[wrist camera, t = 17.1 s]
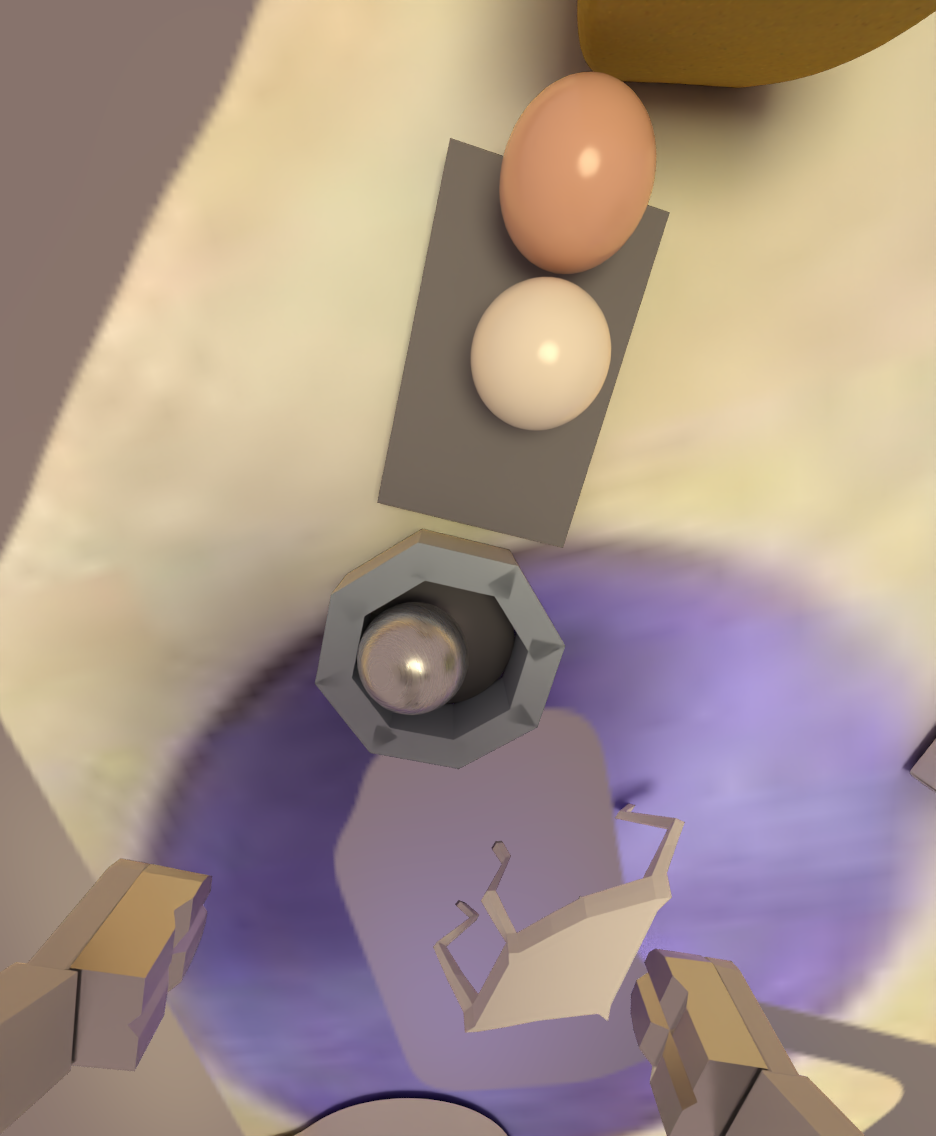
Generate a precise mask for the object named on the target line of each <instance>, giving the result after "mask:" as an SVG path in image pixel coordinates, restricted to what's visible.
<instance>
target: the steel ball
mask: <svg viewBox="0 0 936 1136" xmlns="http://www.w3.org/2000/svg"><path fill="white" fill-rule="evenodd" d="M468 663H469V651H468V645H467V641H466V638H465V635H464V633H463V631H462V629H461V628H460V626H459V625H458V623H457V622H456V621H455V620H454V619H453V618H452V617H451V616H450V615H449V614H448V613H446V612H445V611H443V610H442V609H440V608H438V607H436V606H433V605H431V604H427V603H422V602H407V603H402V604H398V605H395V606H393V607H391V608H388V609H386V610H385V611H383V612H382V613H380V614H379V615H378V616H377V617H376V618H375V619H374V620H373V621H372V622H371V623H370V624H369V625H368V627H367V629H366V630H365V632H364V634H363V636H362V638H361V641H360V644H359V648H358V654H357V665H358V672H359V676H360V679H361V682H362V684H363V686H364V688H365V689H366V691H367V692H368V694H369V695H370V696H371V697H372V698H373V699H374V700H375V701H376V702H377V703H378V704H379V705H381V706H382V707H384V708H386V709H388V710H390V711H392V712H395V713H399V714H404V715H418V714H425V713H428V712H431V711H434V710H436V709H438V708H440V707H441V706H443V705H444V704H446V703H447V702H448V701H449V700H450V699H451V698H452V697H453V696H454V695H455V694H456V693H457V691H458V690H459V689H460V687H461V685H462V683H463V681H464V679H465V676H466V673H467V669H468Z"/></svg>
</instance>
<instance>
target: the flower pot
mask: <svg viewBox="0 0 936 1136" xmlns="http://www.w3.org/2000/svg"><path fill="white" fill-rule="evenodd" d="M935 11H936V0H578V2H577V21H578V34H579V41H580V46H581V50H582V53H583V56H584V59H585V60H586V63H587V64H588V66H589V67H590V68H591V70H592V71H594V72H601V73H605V74H608V75H611V76H613V77H615V78H617V79H619V80H621V81H632V82H661V83H680V84H692V85H708V86H722V87H733V88H740V87H751V86H759V85H766V84H774V83H780V82H786V81H791V80H795V79H799V78H802V77H806V76H810V75H814V74H817V73H820V72H823V71H825V70H828V69H831V68H834V67H836V66H839V65H841V64H844V63H846V62H848V61H851V60H853V59H855V58H857V57H860V56H862V55H864V54H866V53H868V52H870V51H872V50H874V49H876V48H878V47H879V46H881V45H883V44H885V43H887V42H888V41H890V40H892V39H893V38H895V37H897V36H898V35H900V34H901V33H903V32H905V31H906V30H908V29H909V28H911V27H913V26H914V25H916V24H917V23H919V22H920V21H922V20H923V19H925V18H926V17H928V16H929V15H930V14H932V13H933V12H935Z"/></svg>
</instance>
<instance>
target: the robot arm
mask: <svg viewBox="0 0 936 1136" xmlns="http://www.w3.org/2000/svg"><path fill="white" fill-rule="evenodd" d="M211 882H212V876H209V875H204V874H199V873H194V872H189V871H184V870H179V869H174V868H169V867H164V866H159V865H154V864H148V863H143V862H137V861H132V860H126V859H119V860H118V861H117V862H115V863H114V864H113V865H111V866H110V867H109V868H108V869H107V870H106V871H105V872H104V873H103V875H102V876H101V877H100V878H99V879H98V881H97V882H96V883H95V884H94V885H93V886H92V888H91V889H90V890H89V891H88V892H87V894H86V895H85V896H84V897H83V898H82V899H81V901H80V902H79V903H78V904H77V905H76V906H75V908H74V909H73V910H72V911H71V912H70V914H69V915H68V916H67V917H66V918H65V919H64V921H63V922H62V923H61V924H60V925H59V926H58V928H57V929H56V930H55V931H54V933H53V934H52V935H51V936H50V937H49V938H48V939H47V941H46V942H45V943H44V944H43V945H42V947H41V948H40V949H39V950H38V951H37V953H36V954H35V955H34V956H33V957H32V958H31V960H30V961H29V962H28V963H18V962H16V963H14V964H13V965H11V966H9V967H8V968H6V969H4V970H3V971H1V972H0V1134H2V1133H3V1132H4V1131H5V1130H6V1129H7V1128H8V1127H9V1126H10V1125H11V1124H12V1123H13V1122H15V1121H16V1120H17V1119H18V1118H19V1117H20V1116H21V1115H22V1114H23V1113H25V1112H26V1111H27V1110H28V1109H29V1108H30V1107H31V1106H32V1105H33V1104H35V1103H36V1102H37V1101H38V1100H39V1099H40V1098H41V1097H42V1096H43V1095H44V1094H45V1093H47V1092H48V1091H49V1090H50V1089H51V1088H52V1087H53V1086H54V1085H55V1084H56V1083H58V1082H59V1081H60V1080H61V1079H62V1078H63V1077H64V1076H65V1075H66V1074H68V1073H69V1072H70V1070H71V1065H73V1066H83V1067H94V1068H107V1069H117V1070H128V1071H135V1069H136V1067H137V1065H138V1064H139V1062H140V1060H141V1058H142V1056H143V1054H144V1052H145V1050H146V1048H147V1046H148V1045H149V1043H150V1041H151V1039H152V1037H153V1035H154V1033H155V1031H156V1029H157V1027H158V1025H159V1024H160V1022H161V1020H162V1018H163V1016H164V1012H165V1005H166V998H167V993H168V992H169V991H170V990H171V989H173V988H174V987H175V986H176V985H178V984H179V983H180V982H181V981H182V980H183V978H184V976H185V974H186V972H187V970H188V968H189V966H190V964H191V962H192V960H193V957H194V955H195V952H196V950H197V947H198V945H199V942H200V940H201V937H202V934H203V930H204V927H205V923H206V917H207V910H206V909H205V907H204V906H203V904H204V902H205V900H206V898H207V897H208V895H209V893H210V891H211ZM644 963H645V965H646V968H647V971H648V973H646V974H645V975H643V976H642V977H640V978H639V979H638V980H636V983H635V985H634V988H633V991H632V993H631V1018H632V1024H633V1030H634V1033H635V1037H636V1040H637V1043H638V1046H639V1048H640V1050H641V1051H642V1053H643V1054H644V1055H645V1057H646V1058H647V1059H648V1061H649V1062H650V1063H651V1065H652V1066H653V1067H652V1073H651V1078H650V1085H651V1088H652V1091H653V1094H654V1097H655V1100H656V1103H657V1106H658V1109H659V1113H660V1116H661V1119H662V1122H663V1125H664V1128H665V1131H666V1134H667V1136H865V1135H864V1134H863V1133H862V1132H861V1131H860V1130H859V1129H858V1128H857V1127H856V1126H855V1125H854V1124H853V1123H852V1122H851V1121H850V1120H849V1119H848V1118H847V1117H846V1116H845V1115H844V1114H843V1113H842V1112H841V1111H840V1110H839V1109H838V1108H837V1107H836V1106H835V1105H834V1103H833V1102H832V1101H831V1100H830V1099H829V1098H828V1097H827V1096H826V1095H825V1094H824V1093H823V1092H822V1091H821V1090H820V1089H819V1088H818V1087H817V1086H816V1085H815V1084H814V1083H813V1082H812V1081H811V1080H810V1079H809V1078H808V1077H806V1076H801V1075H799V1074H798V1072H797V1071H796V1069H795V1067H794V1065H793V1064H792V1062H791V1060H790V1058H789V1056H788V1055H787V1053H786V1051H785V1049H784V1048H783V1046H782V1044H781V1042H780V1041H779V1039H778V1037H777V1036H776V1034H775V1032H774V1030H773V1028H772V1026H771V1025H770V1023H769V1021H768V1019H767V1018H766V1016H765V1014H764V1012H763V1010H762V1009H761V1007H760V1005H759V1003H758V1002H757V1000H756V998H755V996H754V995H753V993H752V991H751V989H750V988H749V986H748V984H747V982H746V980H745V979H744V977H743V975H742V973H741V972H740V970H739V969H738V968H737V967H736V966H735V965H734V964H733V962H732V961H727V960H722V959H715V958H709V957H703V956H701V955H695V954H688V953H682V952H675V951H668V950H661V949H654V950H652V951H650V952H649V954H648V956H647V958H646V960H645V962H644ZM294 1136H507V1134H506V1133H505V1132H504V1131H503V1130H502V1129H501V1128H500V1127H499V1126H498V1125H497V1124H496V1123H494V1122H493V1121H492V1120H490V1119H489V1118H487V1117H485V1116H484V1115H482V1114H480V1113H478V1112H476V1111H474V1110H471V1109H469V1108H466V1107H463V1106H460V1105H456V1104H453V1103H448V1102H444V1101H438V1100H430V1099H419V1098H397V1099H385V1100H378V1101H372V1102H366V1103H362V1104H358V1105H354V1106H351V1107H348V1108H345V1109H342V1110H339V1111H337V1112H335V1113H332V1114H330V1115H328V1116H326V1117H324V1118H322V1119H321V1120H319V1121H317V1122H316V1123H314V1124H313V1125H311V1126H310V1127H308V1128H306V1129H305V1130H303V1131H302V1132H300V1133H298V1134H296V1135H294Z"/></svg>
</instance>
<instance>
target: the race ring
mask: <svg viewBox="0 0 936 1136" xmlns="http://www.w3.org/2000/svg"><path fill="white" fill-rule="evenodd" d="M407 602H422V603H427V604H431V605H433V606H436V607H438V608H440V609H442V610H443V611H445V612H446V613H448V614H449V615H450V616H451V617H452V618H453V619H454V620H455V621H456V622H457V623H458V625H459V626H460V628H461V629H462V631H463V633H464V635H465V638H466V641H467V645H468V651H469V663H468V669H467V673H466V676H465V679H464V681H463V683H462V685H461V687H460V689H459V690H458V691H457V693H456V694H455V695H454V696H453V697H452V698H451V699H450V700H449V701H448V702H447V703H446V704H444V705H443V706H441V707H440V708H438V709H436V710H434V711H431V712H428V713H425V714H418V715H404V714H399V713H395V712H392V711H390V710H388V709H386V708H384V707H382V706H381V705H379V704H378V703H377V702H376V701H375V700H374V699H373V698H372V697H371V696H370V695H369V694H368V692H367V691H366V689H365V688H364V686H363V684H362V682H361V679H360V676H359V672H358V665H357V654H358V648H359V644H360V641H361V638H362V636H363V634H364V632H365V630H366V629H367V627H368V625H369V624H370V623H371V622H372V621H373V620H374V619H375V618H376V617H377V616H378V615H379V614H380V613H382V612H383V611H385V610H386V609H388V608H391V607H393V606H395V605H398V604H402V603H407ZM371 612H372V614H371ZM513 627H514V629H515V630H516V634H515V638H514V629H513ZM564 648H565V645H564V643H563V641H562V639H561V638H560V636H559V634H558V632H557V631H556V629H555V627H554V625H553V624H552V622H551V620H550V618H549V617H548V615H547V613H546V612H545V610H544V608H543V606H542V605H541V603H540V601H539V600H538V598H537V596H536V595H535V593H534V591H533V589H532V588H531V586H530V584H529V583H528V581H527V579H526V577H525V576H524V574H523V572H522V571H521V569H520V567H519V565H518V564H517V562H516V560H515V559H514V557H513V555H512V554H511V552H510V550H508V549H504V548H500V547H496V546H491V545H487V544H483V543H479V542H475V541H471V540H466V539H462V538H458V537H454V536H450V535H446V534H441V533H437V532H433V531H429V530H425V529H421V530H419V531H418V532H416V533H414V534H413V535H411V536H409V537H408V538H406V539H404V540H403V541H401V542H399V543H398V544H396V545H394V546H393V547H391V548H389V549H388V550H386V551H384V552H383V553H381V554H380V555H378V556H376V557H375V558H373V559H371V560H370V561H368V562H366V563H365V564H363V565H361V566H360V567H358V568H356V569H355V570H353V571H351V572H350V573H348V574H346V576H345V577H344V578H343V580H342V581H341V582H340V584H339V585H338V586H337V588H336V589H335V590H334V592H333V593H332V594H331V598H330V604H329V609H328V615H327V620H326V626H325V631H324V637H323V642H322V648H321V653H320V659H319V664H318V670H317V675H316V680H315V684H316V686H317V687H318V688H319V689H320V691H321V692H322V693H323V694H324V696H325V697H326V698H327V699H328V701H329V702H330V703H331V705H332V706H333V707H334V708H335V710H336V711H337V712H338V713H339V715H340V716H341V717H342V718H343V720H344V721H345V722H346V723H347V725H348V726H349V727H350V728H351V730H352V731H353V732H354V733H355V735H356V736H357V737H358V738H359V740H360V741H361V742H362V744H363V745H364V746H365V747H366V749H367V750H368V751H369V752H370V753H374V754H379V755H385V756H390V757H396V758H401V759H407V760H412V761H418V762H423V763H429V764H434V765H440V766H445V767H451V768H457V769H460V768H462V767H464V766H466V765H467V764H469V763H471V762H473V761H475V760H477V759H479V758H481V757H482V756H484V755H486V754H488V753H490V752H492V751H494V750H496V749H497V748H499V747H501V746H503V745H505V744H507V743H509V742H510V741H513V740H515V739H516V738H518V737H520V736H522V735H524V734H526V733H528V732H530V731H532V730H533V729H535V728H537V727H538V724H539V721H540V718H541V715H542V712H543V710H544V707H545V704H546V701H547V698H548V695H549V692H550V689H551V686H552V683H553V680H554V677H555V674H556V671H557V668H558V665H559V662H560V659H561V657H562V654H563V651H564ZM504 670H505V671H504ZM503 671H504V674H503V677H502V678H500V679H498V678H499V677H500V675H501V674H502V673H503ZM497 679H498V680H497ZM496 680H497V681H496ZM451 703H455V704H451Z"/></svg>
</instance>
